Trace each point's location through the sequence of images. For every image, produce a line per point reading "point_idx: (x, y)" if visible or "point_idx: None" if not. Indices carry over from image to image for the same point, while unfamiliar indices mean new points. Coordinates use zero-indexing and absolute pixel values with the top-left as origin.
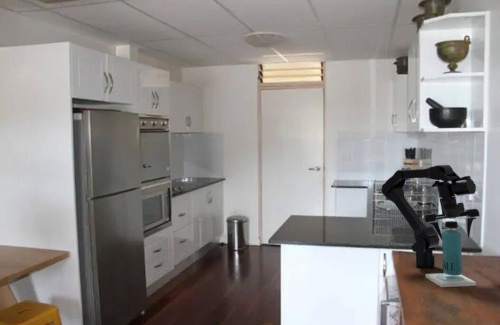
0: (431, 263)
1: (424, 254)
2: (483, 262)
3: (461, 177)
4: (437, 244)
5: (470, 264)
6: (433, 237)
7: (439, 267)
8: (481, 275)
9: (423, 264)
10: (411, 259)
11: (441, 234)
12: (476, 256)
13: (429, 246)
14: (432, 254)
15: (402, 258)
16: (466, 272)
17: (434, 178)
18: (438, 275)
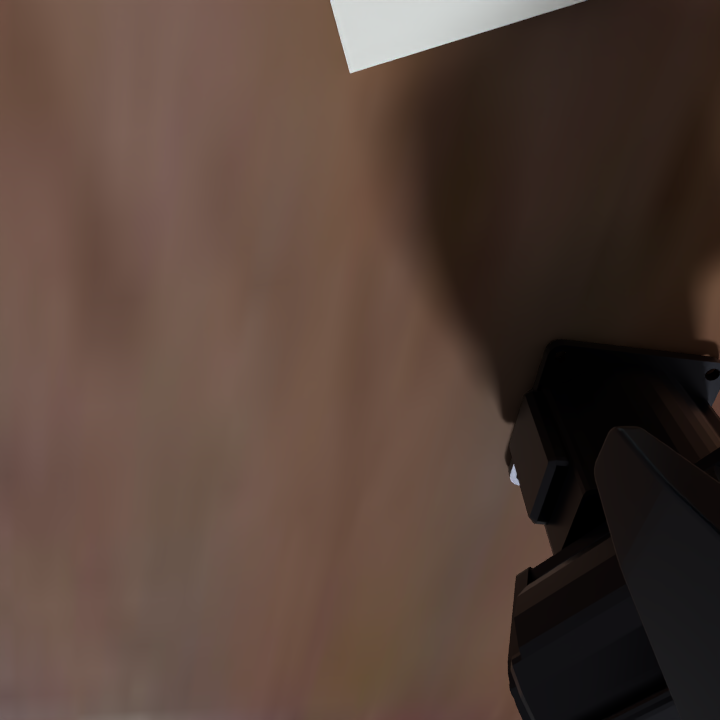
0: (564, 401)
1: (692, 449)
2: (44, 573)
3: None
4: (534, 589)
5: (156, 512)
6: (653, 664)
7: (467, 395)
8: (74, 125)
9: (657, 378)
10: None
11: (697, 510)
12: (93, 706)
13: (715, 472)
14: (579, 469)
15: None
16: (226, 236)
17: None
18: None
